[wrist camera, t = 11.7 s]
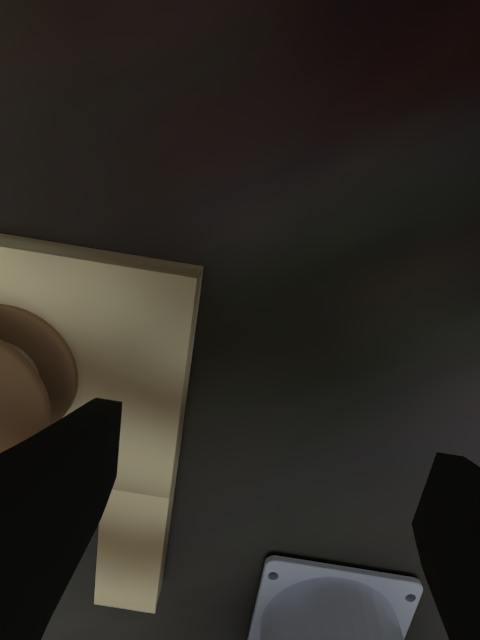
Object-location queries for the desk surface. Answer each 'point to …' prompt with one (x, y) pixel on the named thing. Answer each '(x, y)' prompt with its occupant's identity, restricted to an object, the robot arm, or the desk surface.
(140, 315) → the notched board
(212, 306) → the desk surface
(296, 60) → the desk surface
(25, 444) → the robot arm
